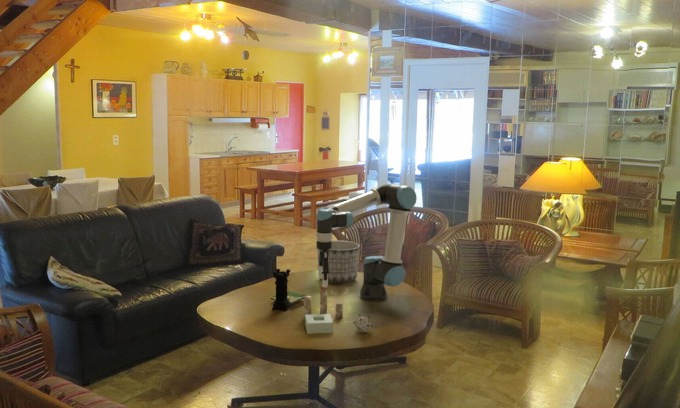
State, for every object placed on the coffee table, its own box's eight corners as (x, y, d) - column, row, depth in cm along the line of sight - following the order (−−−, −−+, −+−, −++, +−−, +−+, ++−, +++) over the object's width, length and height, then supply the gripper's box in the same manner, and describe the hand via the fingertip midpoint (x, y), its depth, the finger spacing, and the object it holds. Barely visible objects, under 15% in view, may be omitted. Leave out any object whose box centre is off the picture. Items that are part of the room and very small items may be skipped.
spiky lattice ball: (358, 339, 279) (351, 319, 283) (375, 332, 279) (368, 312, 283) (357, 336, 271) (349, 315, 274) (374, 329, 271) (367, 309, 275)
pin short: (341, 315, 300) (342, 302, 299) (343, 317, 296) (343, 304, 295) (335, 315, 299) (335, 302, 298) (336, 318, 296) (336, 304, 295)
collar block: (329, 323, 288) (329, 313, 287) (333, 332, 276) (333, 322, 276) (305, 324, 286) (305, 314, 286) (307, 333, 275) (307, 323, 274)
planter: (312, 284, 352) (313, 248, 349) (321, 273, 377) (321, 239, 374) (355, 287, 348) (356, 251, 344) (361, 275, 373) (362, 241, 370)
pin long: (326, 316, 299) (326, 285, 296) (327, 318, 295) (327, 287, 293) (319, 316, 298) (319, 285, 296) (320, 318, 295) (320, 287, 292)
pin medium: (310, 316, 297) (310, 295, 296) (311, 319, 294) (311, 297, 292) (303, 316, 297) (303, 295, 295) (304, 319, 293) (304, 298, 292)
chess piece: (286, 310, 306) (286, 273, 302) (271, 309, 307) (271, 272, 304) (291, 305, 313) (291, 269, 310) (276, 304, 315) (276, 268, 312)
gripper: (313, 235, 302) (313, 275, 305) (319, 246, 278) (318, 289, 281) (328, 235, 303) (327, 275, 306) (335, 246, 279) (334, 289, 282)
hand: (323, 282), depth 294 cm, fingers open, 13 cm apart
